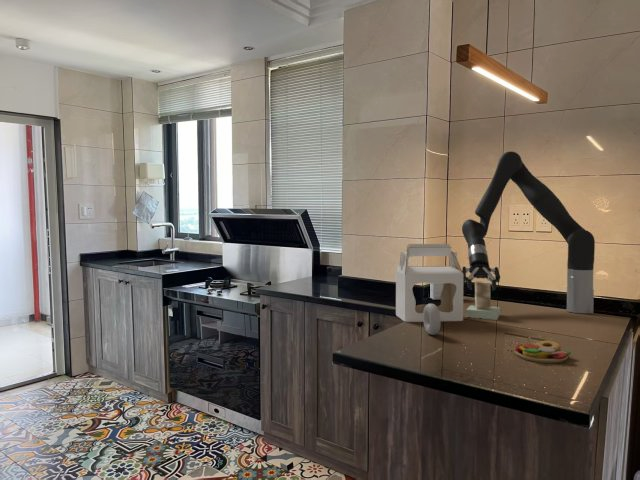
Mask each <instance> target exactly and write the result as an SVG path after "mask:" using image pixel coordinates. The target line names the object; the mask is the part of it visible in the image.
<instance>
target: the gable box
mask: <svg viewBox="0 0 640 480" xmlns="http://www.w3.org/2000/svg"><path fill="white" fill-rule="evenodd" d="M457 253H458V252H456V251H455V252H454V251H452V246H451V245H450V244H449V243H408V245H407V248H406V251H405V252H400V259H399V264H398V266H397V268H396V270H395V315H396V317H398V318H399V319H401V320H402V321H403V322H404V323H424V322H423V312H424V308H425V306H426V305H427V304H417V305H416V302H417V301H416V298H415V296H414V291H413V287H414V286H415V285H416V284H420V283H421V284H422V283H423V284H425V283H426V284H429V283H432V284H444V286H443V290H442V292H441V300H440V305H438V306H437V308H438V310H439V313H440V318H441V322H463V321H464V282H463V272H462V268H461V265H460V264H459V261H458V254H457ZM410 257H411V258H413V257H448V258H449V259H448V264H449V265H444V266H443V265H441V266H440V265H439V266H438V265H437V266H435V265H433V266H432V265H431V266H428V265H427V266H426V265H425V266H424V265H423V266H421V265H420V266H417V265H416V266H413V265H411V266H409V259H410Z"/></svg>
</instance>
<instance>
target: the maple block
mask: <svg viewBox="0 0 640 480" xmlns="http://www.w3.org/2000/svg"><path fill="white" fill-rule="evenodd" d="M474 306H475V308H476V309H491V307H492V306H491V282H490V281H474Z"/></svg>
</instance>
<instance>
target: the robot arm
mask: <svg viewBox="0 0 640 480" xmlns="http://www.w3.org/2000/svg"><path fill="white" fill-rule="evenodd" d="M510 180H511V181H512V182H513V183H514V184H515V185H516V186H517V187H518V188H519V190H520V192H521V193H522V194H523V196H524V197H525V198H526V200H527V201H528V202H529V203H530V205H532V207H533V208H534V209H535V210H536V211H537V213H538V214H540V216H542V218H544V219H545V220H546V221H547V222H548V223H549V224H551V225H552V226H553V227H554V228H555V229H556V230H557V232H558V233H560V235H561V236H562V237H563V239H564V240H565V242H566V243H567V263H566V265H567V267H566V268H567V269H566V270H567V271H566V273H567V274H566V311H567V312H569V313H574V314H586V315H587V314H592V315H593V314H594V304H595V303H594V301H595V300H594V299H595V298H594V297H595V296H594V292H595V291H594V266H595V253H596V252H595V249H596V247H595V246H596V244H595V236H594V235H593V234H592V233H591V232H590V231H588V230H586V229H585V228H584V227H582V226H581V225H580V224H579V223H578V222H577V221H576V220H575V219H574V218H573V217H572V216H571V214H570V213H569V211H568V209H566V207H565V205H564V204H563V203H562V201H561V200H560V199H559V197H558V196H557V195H556V194H555V193H554V192H553V191H552V190H551V189H550V188H549V187H548V186H547V185H546V184H545V183H543V182H542V181H540V179H538V178H537V177H536V176H535V175H534V174H532V172H531V171H530V170H529V169H528V167H527V166H526V164H524V162H523V160H522V158H521V155H520V154H518V153H517V152H515V151H511V150H510V151H506V152H504V153H502V155H500V156H499V159H498V163H497V166H496V169H495V171H494V174H493V177H492V179H491V181H490V183H489V185H488V186H487V188H486V190H485V192H484V194H483V195H482V197H481V199H480V201H479V203H478V205H477V206H476V207H475V210H474V214H475V215H476V216H477V217H479V219H480V221H479V222H478V221H477V220H474V219H471V218H470V219H469V218H468V219H467V220H465V221H463V224H462V226H461V232H462V235H463V237H464V239H465V242H466V243H467V249H468V258H467V259H468V261H469V263H468V264H469V267H466V266H463V267H462V268H461V270H462V272H463V283H465V282H466V283H467V288H468V289H469V290H470V291H472V290H473V282H472V281H473V280H474V279H475V278H476V279H483V280H484V279H486V280H487V282H490V285H491V288H492V289H491V291H495V290H496V289H497V283H500V280H501V275H500V270H499V267H498V266H495V267H494V268H491V267H490V263H489V255H488V251H487V247H486V241H485V239H484V238H485V237H486V236H487V233H488V230H489V226H490V221H491V219H492V216H493V214H494V212H495V211H496V208H497V206H498V204H499V203H500V200H501V197H502V194H503V193H504V190H505V189H506V187H507V185H508V183H509V182H510ZM468 272H469V273H470V274H469V276H467V273H468Z"/></svg>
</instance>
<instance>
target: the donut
mask: <svg viewBox="0 0 640 480" xmlns="http://www.w3.org/2000/svg"><path fill="white" fill-rule="evenodd" d="M425 305H426V306H425V308H424V312H423V322H422V323H423V325H424V329H425V331H426V333H427V334H429V335H431V336H435V335H437V334H438V333H439V331H440V329H441V326H442V325H441V322H442V321H441V318H440V313H439V310H438V308H437V307H438V306H437V305H436V304H434V303H428V304H427V303H426V304H425Z"/></svg>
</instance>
